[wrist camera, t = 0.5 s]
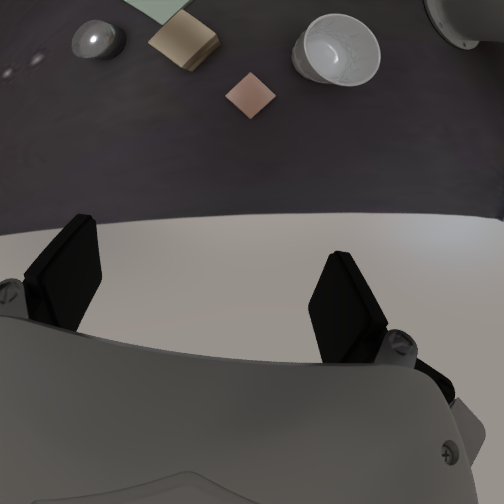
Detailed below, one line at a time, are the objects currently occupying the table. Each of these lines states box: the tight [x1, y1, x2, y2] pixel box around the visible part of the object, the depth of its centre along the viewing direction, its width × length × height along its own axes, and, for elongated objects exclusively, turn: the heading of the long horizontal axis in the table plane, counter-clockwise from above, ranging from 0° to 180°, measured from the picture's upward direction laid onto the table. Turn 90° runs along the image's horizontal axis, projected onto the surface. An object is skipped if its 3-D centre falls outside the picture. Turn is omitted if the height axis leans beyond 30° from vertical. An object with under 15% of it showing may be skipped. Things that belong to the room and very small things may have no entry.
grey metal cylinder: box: [72, 20, 126, 60], centre depth 22 cm, size 5×5×6 cm
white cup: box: [291, 14, 381, 86], centre depth 23 cm, size 8×8×10 cm
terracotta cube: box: [226, 72, 275, 119], centre depth 29 cm, size 4×4×4 cm
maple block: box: [148, 9, 220, 72], centre depth 23 cm, size 5×5×7 cm
